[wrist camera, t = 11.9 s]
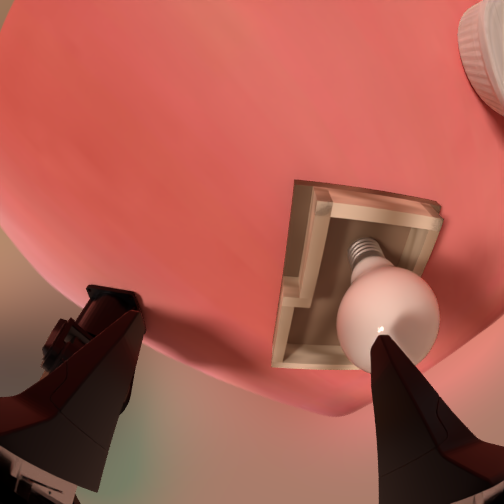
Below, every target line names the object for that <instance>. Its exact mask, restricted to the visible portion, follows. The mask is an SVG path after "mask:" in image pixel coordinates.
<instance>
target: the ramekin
mask: <svg viewBox="0 0 504 504" xmlns="http://www.w3.org/2000/svg"><path fill="white" fill-rule="evenodd" d="M457 35H458V46H459V52H460V57H461V60H462V64H463V67H464V69H465V72H466V74H467V76H468V79H469V81H470V82H471V84H472V86H473V88H474V89H475V91H476V93H477V94H478V95H479V96H480V98H481V99H482V100H483V101H484V102H485V103H486V104H487V105H488V106H489V107H490V108H491V109H493V110H494V111H496V112H497V113H499V114H500V115H502V116H503V117H504V0H483V1H481V2H479V3H477V4H475V5H473V6H472V7H470V8H469V9H467V10H466V12H465V13H464V14H463V16H462V17H461V20H460V22H459V26H458V34H457Z"/></svg>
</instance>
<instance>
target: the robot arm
mask: <svg viewBox="0 0 504 504" xmlns="http://www.w3.org/2000/svg"><path fill="white" fill-rule="evenodd" d="M86 290H87V292H88V295H89V297H90V300H89V301H88V303H87V304H86V306H85V307H84V309H83V310H82V312H81V313H80V315H79V317H78V318H77V320H76V321H75V320H73V319H72V318H70V319H69V320H68V321H67V320H63V319H60V320H59V321H58V323H57V324H56V326H55V327H54V329H53V330H52V332H51V334H50V335H49V337H48V339H47V341H46V342H45V344H44V346H43V348H42V351H43V358H42V359H43V361H42V364H41V367H42V368H43V369H44V370H45V371H44V373H43V375H42V377H41V378H40V380H39V381H38V382H37V383H35V384H34V385H32V386H31V387H29V388H28V389H26V390H25V391H23V392H22V393H20V394H18V395H15V396H11V397H0V504H80V502H79V500H78V498H77V496H76V494H75V492H76V488H77V486H80V487H83V488H86V489H88V490H91V491H94V492H98V489H99V485H100V481H101V477H102V473H103V469H104V466H105V462H106V458H107V455H108V450H109V447H110V444H111V440H112V437H113V434H114V430H115V427H116V424H117V421H118V418H119V415H120V414H121V413H122V412H123V411H124V410H125V408H126V406H127V405H128V402H129V400H130V396H131V390H132V385H133V379H134V374H135V368H136V364H137V360H138V356H139V351H140V348H141V344H142V340H143V336H144V334H145V333H146V327H145V323H144V320H143V317H142V314H141V311H140V309H139V305H138V302H137V299H136V296H135V294H134V293H133V292H129V291H123V290H117V289H111V288H105V287H100V286H94V285H88V286H87V288H86ZM370 360H371V389H372V397H373V406H374V414H375V424H376V436H377V451H378V473H379V504H504V447H503V446H499V445H495V444H491V443H487V442H484V441H481V440H480V439H478V438H477V437H476V436H474V434H473V433H472V432H471V431H470V430H469V429H468V428H467V427H466V426H465V425H464V424H463V423H462V422H461V421H460V419H459V418H458V417H457V416H456V415H455V414H454V413H453V412H452V411H451V409H450V408H449V407H448V406H447V405H446V403H445V402H444V401H443V400H442V398H441V397H439V395H438V393H437V392H436V391H435V390H434V388H433V387H432V386H431V385H430V384H429V382H428V381H427V380H426V378H425V377H424V376H423V375H422V374H421V372H420V371H419V370H418V369H417V367H416V366H415V365H414V364H413V363H412V361H411V360H410V359H409V358H408V357H407V355H406V354H405V353H404V352H403V351H402V350H401V348H400V347H399V346H398V345H397V344H396V343H395V341H394V340H393V339H392V338H391V337H390V336H389V335H378V336H377V338H376V340H375V342H374V343H373V345H372V347H371V350H370Z"/></svg>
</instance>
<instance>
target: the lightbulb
mask: <svg viewBox="0 0 504 504" xmlns="http://www.w3.org/2000/svg"><path fill="white" fill-rule="evenodd" d="M347 256H348V260H349V263H350V267H351V270H352V275H351V285H350V287H349V288H348V290H347V291H346V293H345V294H344V296H343V298H342V300H341V303H340V305H339V309H338V313H337V319H336V330H337V337H338V340H339V343H340V346H341V348H342V350H343V352H344V354H345V355H346V356H347V358H348V359H349V360H350V361H351V362H352V363H353V364H354V365H355V366H357V367H358V368H360V369H361V370H363V371H365V372H368V373H370V374H371V360H370V350H371V347H372V345H373V343H374V342H375V340H376V338H377V336H378V335H389V336H390V337H391V338H392V339H393V340H394V341H395V343H396V344H397V345H398V346H399V347H400V348H401V350H402V351H403V352H404V353H405V354H406V355H407V357H408V358H409V359H410V360H411V361H412V363H413V364H414V365H415V366H416V365H417V364H418V363H420V362H421V361H422V360H423V359H424V358H425V357H426V356H427V354H428V353H429V352H430V350H431V349H432V347H433V345H434V343H435V341H436V338H437V335H438V332H439V326H440V310H439V305H438V301H437V299H436V296H435V294H434V292H433V290H432V289H431V287H430V286H429V285H428V283H427V282H426V281H425V280H424V279H422V278H421V277H420V276H419V275H417V274H416V273H414V272H412V271H410V270H407V269H404V268H400V267H395V266H394V265H393V264H392V263H391V262H390V261H389V260H387V259H386V258H385V256H384V254H383V252H382V250H381V248H380V246H379V244H378V242H377V241H375V240H374V239H372V238H367V237H365V238H360V239H358V240H356V241H354V242H353V243H352V244H351V245H350V247H349V249H348V252H347Z"/></svg>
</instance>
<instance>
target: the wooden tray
mask: <svg viewBox="0 0 504 504" xmlns="http://www.w3.org/2000/svg"><path fill="white" fill-rule="evenodd" d="M440 209H441V206H440V205H439V204H438V203H437V202H436V201H433V200H428V199H423V198H418V197H413V196H407V195H402V194H396V193H391V192H385V191H379V190H372V189H366V188H359V187H352V186H345V185H337V184H330V183H321V182H313V181H303V180H294V188H293V197H292V205H291V214H290V222H289V230H288V238H287V246H286V254H285V261H284V268H283V276H282V283H281V290H280V297H279V303H278V310H277V317H276V323H275V330H274V336H273V345H272V362H271V367H277V368H293V369H318V370H361V369H360V368H358V367H357V366H355V365H354V364H353V363H352V362H351V361H350V360H349V359H348V358H347V356H346V355H345V354H344V352H343V350H342V348H341V346H340V343H339V340H338V337H337V330H336V319H337V313H338V309H339V305H340V303H341V300H342V298H343V296H344V294H345V293H346V291H347V290H348V288H349V287H350V285H351V275H352V270H351V267H350V263H349V260H348V256H347V252H348V249H349V247H350V245H351V244H352V243H353V242H354V241H356V240H358V239H360V238H365V237H367V238H372V239H374V240H375V241H377V242H378V244H379V246H380V248H381V250H382V252H383V254H384V256H385V258H386V259H387V260H389V261H390V262H391V263H392V264H393V265H394V266H395V267H400V268H404V269H407V270H410V271H412V272H414V273H416V274H417V275H419V276H420V277H421V275H422V273H423V271H424V269H425V266H426V264H427V262H428V259H429V257H430V255H431V252H432V250H433V247H434V245H435V242H436V239H437V237H438V234H439V231H440V229H441V226H442V223H443V220H444V219H443V218H442V217H441V216H440V215H439V212H440Z"/></svg>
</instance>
